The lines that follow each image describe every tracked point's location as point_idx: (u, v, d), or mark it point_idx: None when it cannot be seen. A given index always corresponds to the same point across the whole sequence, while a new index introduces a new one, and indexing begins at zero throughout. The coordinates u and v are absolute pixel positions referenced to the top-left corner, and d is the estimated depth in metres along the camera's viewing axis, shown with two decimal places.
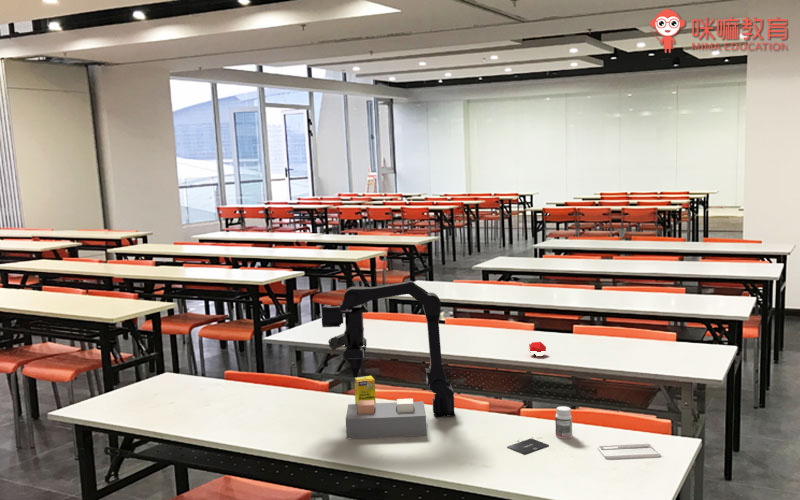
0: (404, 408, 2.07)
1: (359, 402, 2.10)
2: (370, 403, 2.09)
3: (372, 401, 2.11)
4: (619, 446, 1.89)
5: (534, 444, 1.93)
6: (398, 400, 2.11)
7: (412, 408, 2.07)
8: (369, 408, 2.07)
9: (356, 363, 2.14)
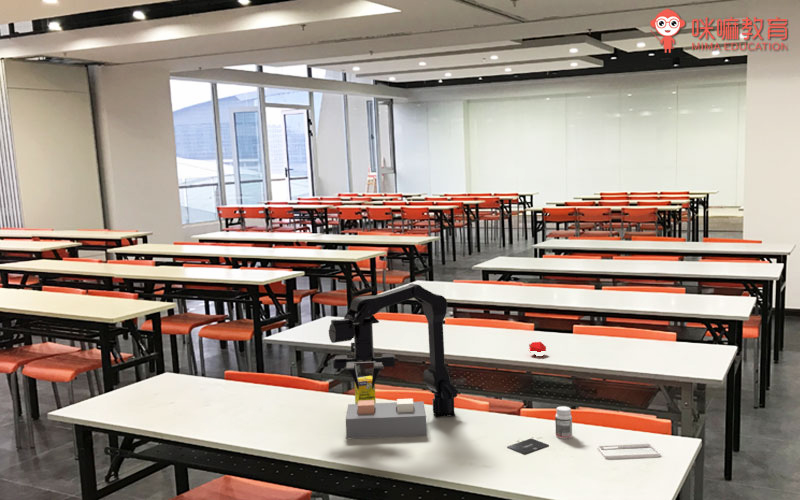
0: (404, 408, 2.07)
1: (359, 402, 2.10)
2: (370, 403, 2.09)
3: (372, 401, 2.11)
4: (619, 446, 1.89)
5: (534, 444, 1.93)
6: (398, 400, 2.11)
7: (412, 408, 2.07)
8: (369, 408, 2.07)
9: None
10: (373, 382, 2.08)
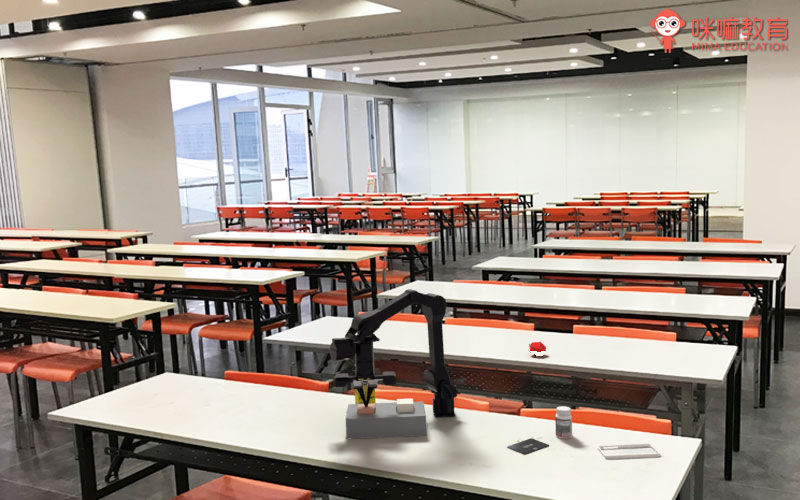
0: (404, 408, 2.07)
1: (359, 406, 2.10)
2: (370, 407, 2.09)
3: (372, 405, 2.11)
4: (619, 446, 1.89)
5: (534, 444, 1.93)
6: (398, 400, 2.11)
7: (412, 408, 2.07)
8: (369, 412, 2.07)
9: None
10: (367, 400, 2.08)
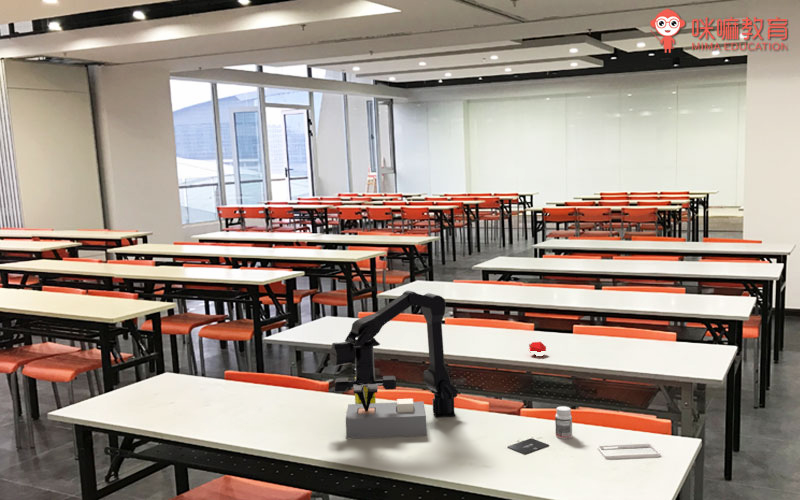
0: (404, 408, 2.07)
1: (359, 410, 2.10)
2: (370, 411, 2.09)
3: (372, 409, 2.11)
4: (619, 446, 1.89)
5: (534, 444, 1.93)
6: (398, 400, 2.11)
7: (412, 408, 2.07)
8: None
9: None
10: (367, 405, 2.08)
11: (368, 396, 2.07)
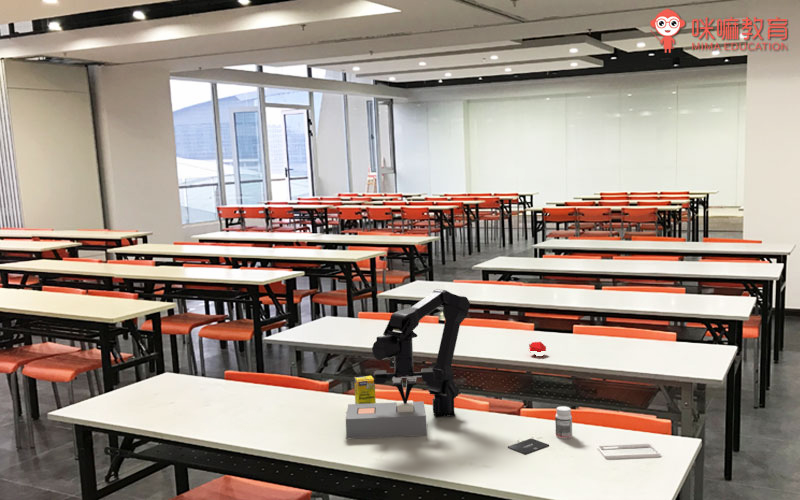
0: (404, 410, 2.07)
1: (359, 410, 2.10)
2: (370, 411, 2.09)
3: (372, 409, 2.11)
4: (619, 446, 1.89)
5: (534, 444, 1.93)
6: (398, 402, 2.11)
7: (412, 410, 2.08)
8: None
9: None
10: (406, 397, 2.08)
11: (407, 388, 2.07)
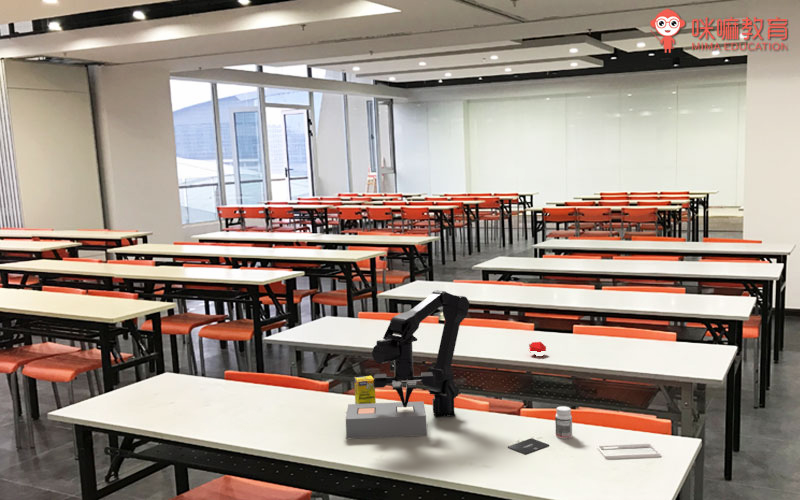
0: None
1: (359, 410, 2.10)
2: (370, 411, 2.09)
3: (372, 409, 2.11)
4: (619, 446, 1.89)
5: (534, 444, 1.93)
6: (398, 408, 2.11)
7: None
8: None
9: None
10: (406, 401, 2.08)
11: (407, 392, 2.07)
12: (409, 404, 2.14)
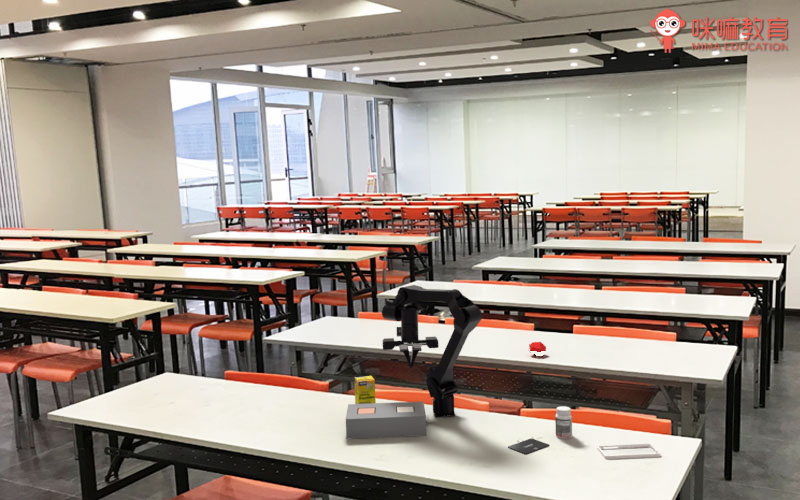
0: None
1: (359, 410, 2.10)
2: (370, 411, 2.09)
3: (372, 409, 2.11)
4: (619, 446, 1.89)
5: (534, 444, 1.93)
6: (398, 408, 2.11)
7: None
8: None
9: None
10: (412, 362, 2.29)
11: (413, 354, 2.28)
12: (409, 404, 2.14)
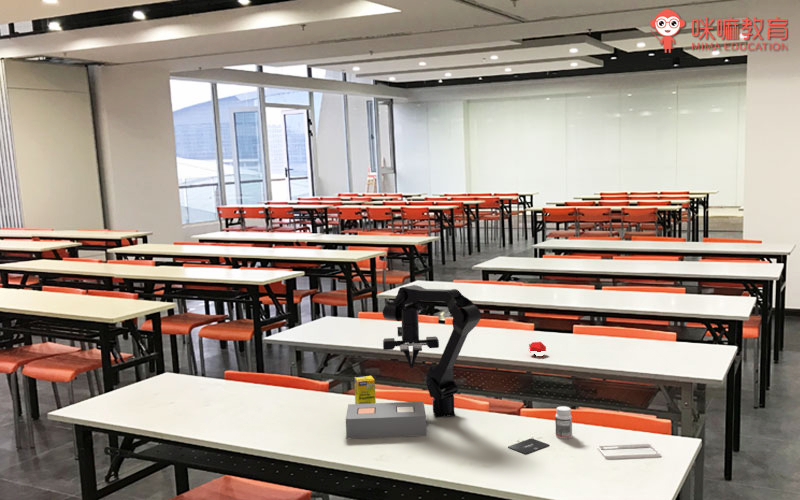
0: None
1: (359, 410, 2.10)
2: (370, 411, 2.09)
3: (372, 409, 2.11)
4: (619, 446, 1.89)
5: (534, 444, 1.93)
6: (398, 408, 2.11)
7: None
8: None
9: None
10: (413, 362, 2.30)
11: (413, 354, 2.28)
12: (409, 404, 2.14)
